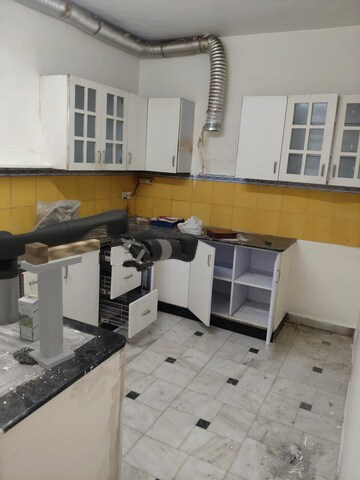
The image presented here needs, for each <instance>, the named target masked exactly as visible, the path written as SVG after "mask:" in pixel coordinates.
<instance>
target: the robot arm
mask: <svg viewBox="0 0 360 480" xmlns="http://www.w3.org/2000/svg"><path fill="white" fill-rule="evenodd" d="M129 216H130V215H129V213H128V211H127V210H125V209H112V210H107V211H104V212H103V211H102V212H100V213H97V214H93V215H89V216H85V217H80V218H76V219H70V220H69V219H68V220H63V221H57V222H54V223H49V224H47V225H44V226H42V227H40V228H38V229H36V230H33V231H29V232H24V233H17V234H13V233H12V232H10V231H8V230H0V325H10V324H14V323H16V322H19V311H18V300H19V299H20V298H21V294H20V272H19V262H18V257H21V256H25V244H31V243H37V242H38V243H41V244H44V245H47V246H48V248H51V247H56V246H61V245H66V244H71V243H76V242H81V241H82V240H83V239H84V238H85V237H86V236H87V235H88V234H89V233H91V232H92V231H94V230H96V229H97V228H99V227H102V226H105V232H106V235H107V237H109V238H110V239H111V241H110V242H109V244H108V245H109V248H117V247H119V248H120V247H121V248H123V249H124V251H126V252H128V253H129V254H130V255H131V257H132V259H128V260H124V261H123V262H122V265H121V266H122V267H123V268H135V269H136V272H138V273H140V272H145V271H150V270H151V269H152V268H153V267H154V265H155V263H157V262H163V261H166V260H167V261H168V260H176V261H177V260H178V261H181V262H183V263H190V262H193V261H194V259H195V258H196V255H197V250H198V246H199V238H198V237H197V236H196V235H195V234H193V233H174V232H170V231H167V230H163V229H161V228H159V229H158V228H149V229H145V230H142V231H138V232H137V231H133V230H131V229H130V221H129V220H130V219H129ZM140 262H142V263H140Z"/></svg>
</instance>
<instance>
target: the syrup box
mask: <svg viewBox="0 0 360 480" xmlns="http://www.w3.org/2000/svg"><path fill="white" fill-rule="evenodd" d="M18 311H19V320H18V325H19V326H18V327H19V328H18V329H19V339H20V340H23V341H28V342H32V343H33V342H36V341H37V340H40V339H39V310H38V295H34V294H26V295H24V296H22V297H20V299H19V300H18Z"/></svg>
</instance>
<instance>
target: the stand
mask: <svg viewBox="0 0 360 480" xmlns="http://www.w3.org/2000/svg"><path fill="white" fill-rule="evenodd" d="M82 257H83V256H82V255H81V254H78V255H74V256H70V257H65V258H61V259H56V260H52V261H48V263H44V264H40V265H33V264H31V263H28V262H26V259H25V260H21V261H20V269H21V270H25V271H26V272H29V273H31V274H34V275H36V277H37V278H36V279H37V296H38V310H39V339H38V340H39V348H36V349H35V350H32V351H29V352H28V353H27V354H28V355H30V356H31V357H33V358H34V359H35V360H36V361H37V362H38V363H37V364H38V365H40V366H41V367H42V368H44V369H45V370H47V371H48V370H49V369H51V368H54V367H57V366H58V365H60V364H62V363H64V362H67V361H68V360H71V359H73V358H75V357H76V352H75V351H74V350H72V349H70V348H68V347H67V346H65V345H64V320H63V319H64V312H63V268H64V267H68V266H69V267H70V266H72V265H76V264H81V263H82V262H83V261H82ZM28 355H27V356H28Z"/></svg>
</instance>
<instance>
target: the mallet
mask: <svg viewBox="0 0 360 480" xmlns="http://www.w3.org/2000/svg"><path fill="white" fill-rule="evenodd" d="M100 250H101V240H99V239H95V238H93V239H87V240H80V241H79V242H76V243H71V244H66V245H61V246H56V247H51V248H48V246H47V245H44V244H41V243H38V242H37V243H31V244H25V254H24V257H25V260H26V262H28V263H31V264H33V265H40V264H44V263H48V261H52V260H56V259H61V258H65V257H70V256H74V255H82V254H86V253H91V252H95V251H100Z"/></svg>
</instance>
